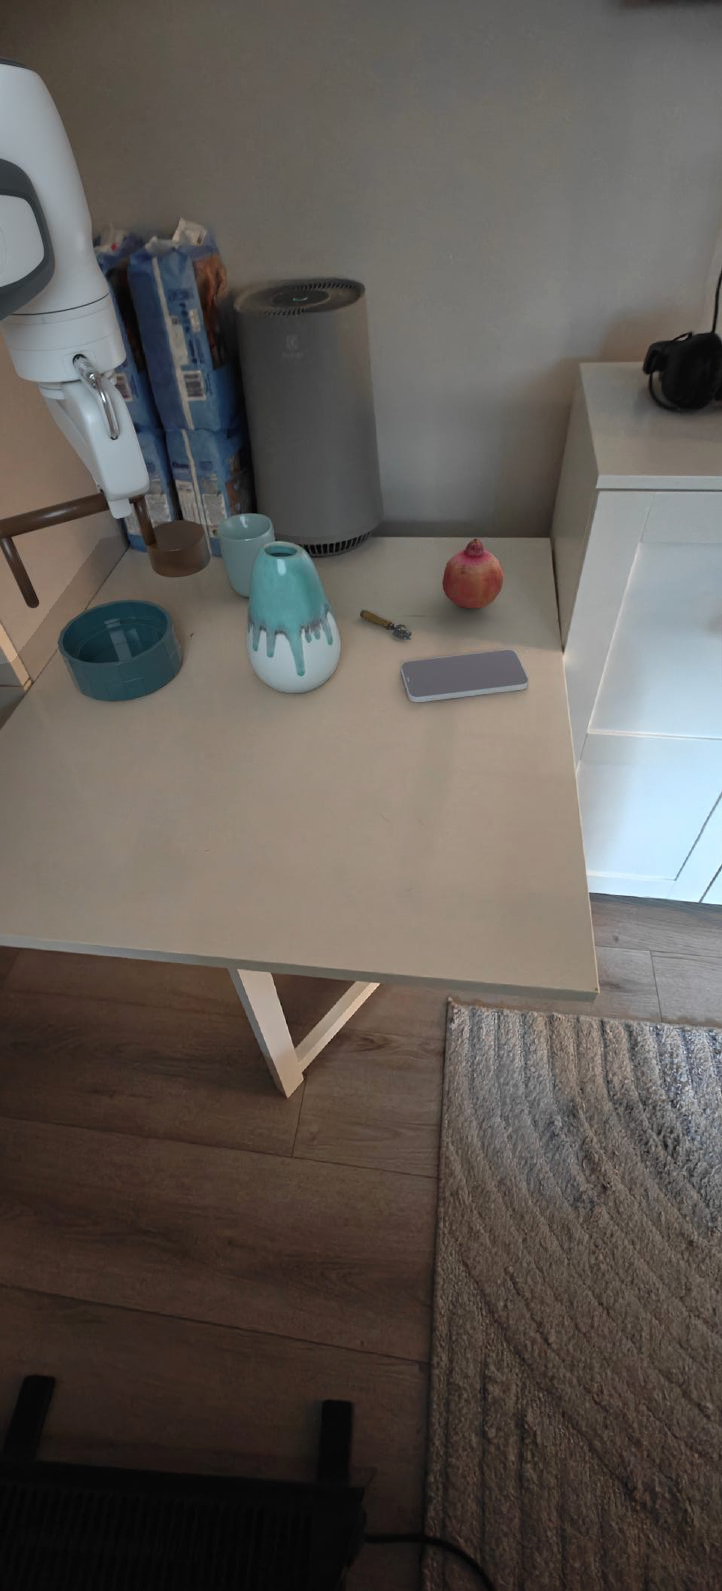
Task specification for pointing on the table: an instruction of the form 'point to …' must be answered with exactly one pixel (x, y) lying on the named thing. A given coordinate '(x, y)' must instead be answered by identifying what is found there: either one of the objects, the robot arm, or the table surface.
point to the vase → (290, 621)
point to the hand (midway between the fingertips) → (116, 507)
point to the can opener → (387, 625)
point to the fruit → (473, 577)
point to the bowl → (120, 649)
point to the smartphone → (463, 675)
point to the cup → (243, 546)
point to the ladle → (167, 544)
